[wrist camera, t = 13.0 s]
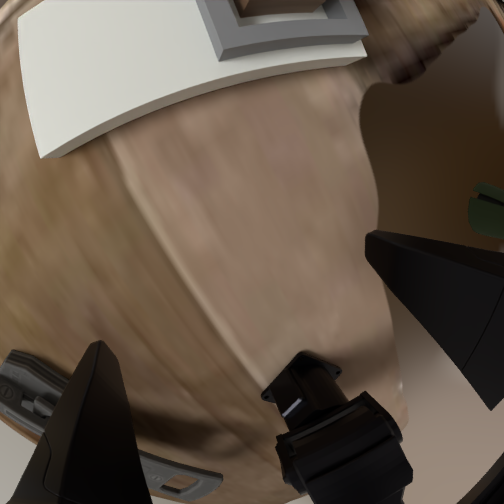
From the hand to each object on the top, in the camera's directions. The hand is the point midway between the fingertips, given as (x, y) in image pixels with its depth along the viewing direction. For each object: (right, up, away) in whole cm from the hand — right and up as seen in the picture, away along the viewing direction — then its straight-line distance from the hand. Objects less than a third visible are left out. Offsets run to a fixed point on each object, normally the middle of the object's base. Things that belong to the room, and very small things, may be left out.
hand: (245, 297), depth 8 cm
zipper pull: (-16, -16, +15) cm, 27 cm away
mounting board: (-4, +17, +6) cm, 18 cm away
